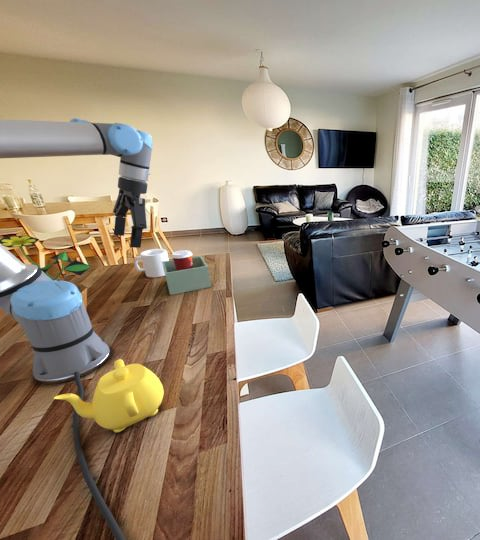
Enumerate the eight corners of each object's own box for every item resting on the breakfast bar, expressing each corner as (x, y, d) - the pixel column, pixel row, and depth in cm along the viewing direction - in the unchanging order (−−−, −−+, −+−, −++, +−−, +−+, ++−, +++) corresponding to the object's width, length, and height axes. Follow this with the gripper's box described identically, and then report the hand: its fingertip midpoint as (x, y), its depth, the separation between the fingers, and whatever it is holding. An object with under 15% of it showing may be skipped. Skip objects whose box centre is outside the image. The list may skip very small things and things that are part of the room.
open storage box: (211, 286, 127) (207, 266, 123) (170, 295, 118) (164, 273, 114) (204, 274, 138) (201, 255, 134) (166, 281, 129) (161, 261, 126)
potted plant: (30, 339, 88) (-14, 247, 77) (40, 313, 101) (3, 231, 90) (105, 321, 99) (77, 237, 87) (105, 300, 112) (80, 225, 101)
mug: (134, 279, 130) (128, 257, 126) (140, 270, 139) (135, 250, 135) (169, 275, 135) (164, 254, 131) (173, 268, 144) (168, 248, 140)
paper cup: (200, 281, 129) (195, 252, 124) (183, 287, 123) (177, 256, 118) (190, 277, 133) (185, 248, 128) (173, 282, 127) (167, 252, 122)
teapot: (122, 388, 72) (109, 350, 68) (180, 389, 73) (170, 352, 68) (72, 439, 59) (51, 396, 55) (142, 440, 60) (127, 398, 55)
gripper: (164, 189, 91) (155, 252, 95) (131, 174, 103) (125, 231, 107) (136, 184, 84) (128, 252, 89) (104, 169, 96) (99, 229, 101)
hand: (126, 241), depth 98 cm, fingers open, 13 cm apart
